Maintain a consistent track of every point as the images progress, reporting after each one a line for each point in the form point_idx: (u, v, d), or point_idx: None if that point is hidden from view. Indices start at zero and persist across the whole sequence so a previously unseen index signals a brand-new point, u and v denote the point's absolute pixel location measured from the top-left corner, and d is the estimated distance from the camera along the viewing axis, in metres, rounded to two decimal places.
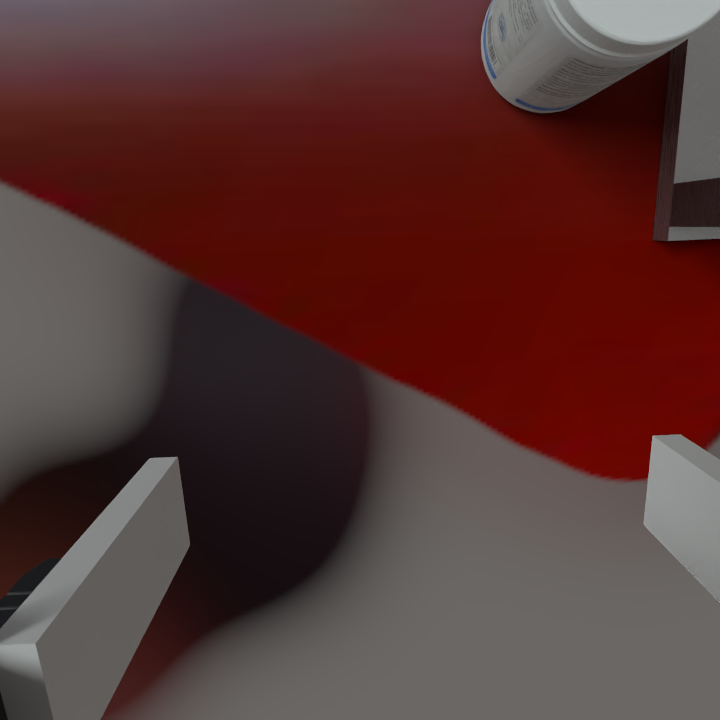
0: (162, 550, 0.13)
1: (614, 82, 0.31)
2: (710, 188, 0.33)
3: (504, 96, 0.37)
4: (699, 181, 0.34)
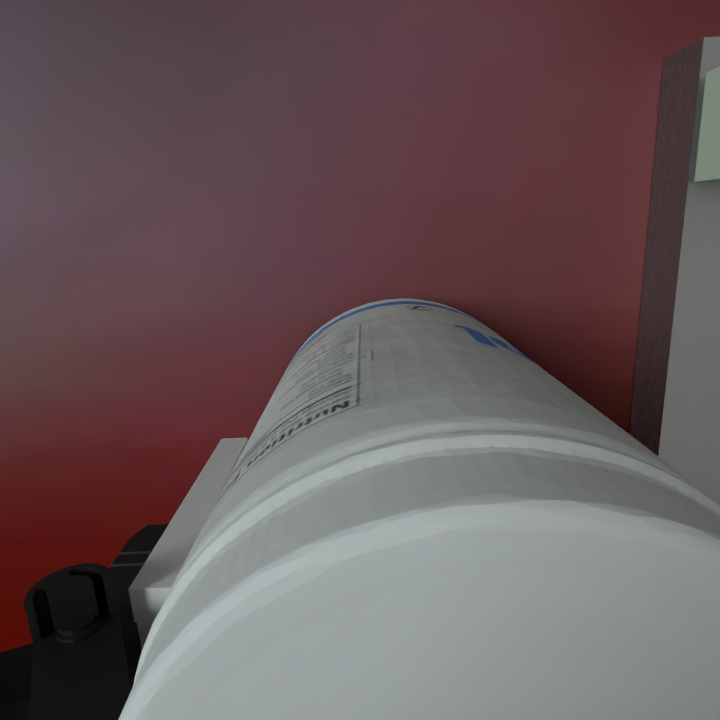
0: None
1: None
2: None
3: None
4: None
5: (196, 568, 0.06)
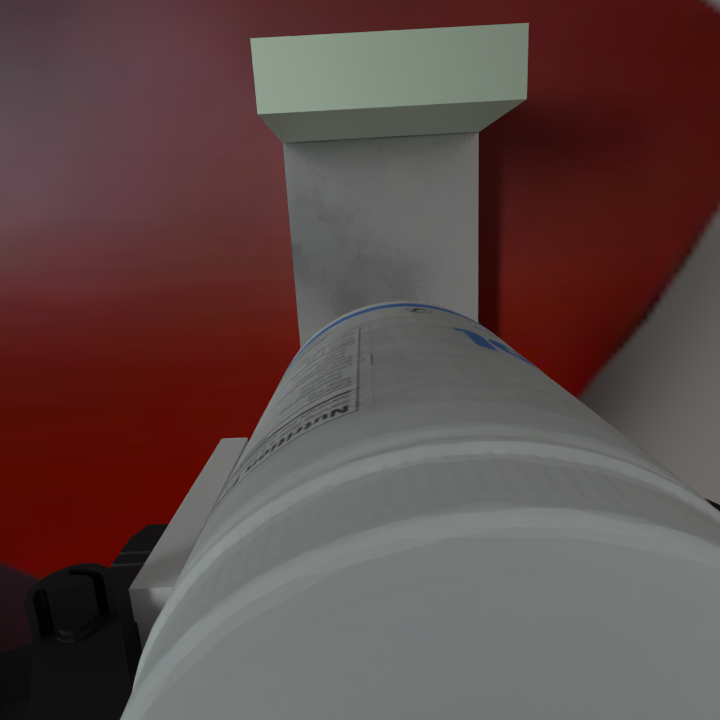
0: None
1: None
2: None
3: None
4: None
5: (195, 574, 0.06)
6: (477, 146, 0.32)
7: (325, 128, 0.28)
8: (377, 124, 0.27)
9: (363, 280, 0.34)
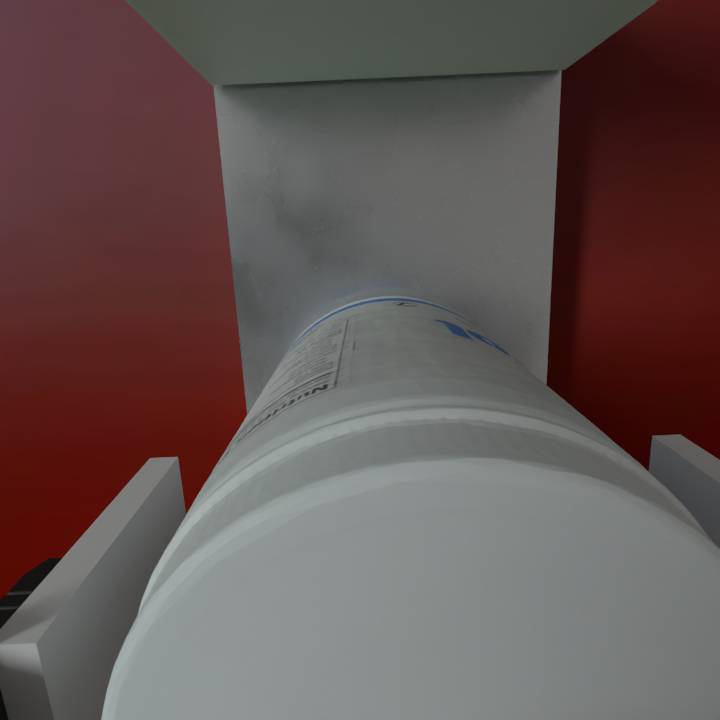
0: (162, 550, 0.13)
1: None
2: None
3: None
4: None
5: (188, 526, 0.07)
6: (558, 98, 0.18)
7: (277, 40, 0.14)
8: (381, 31, 0.13)
9: None
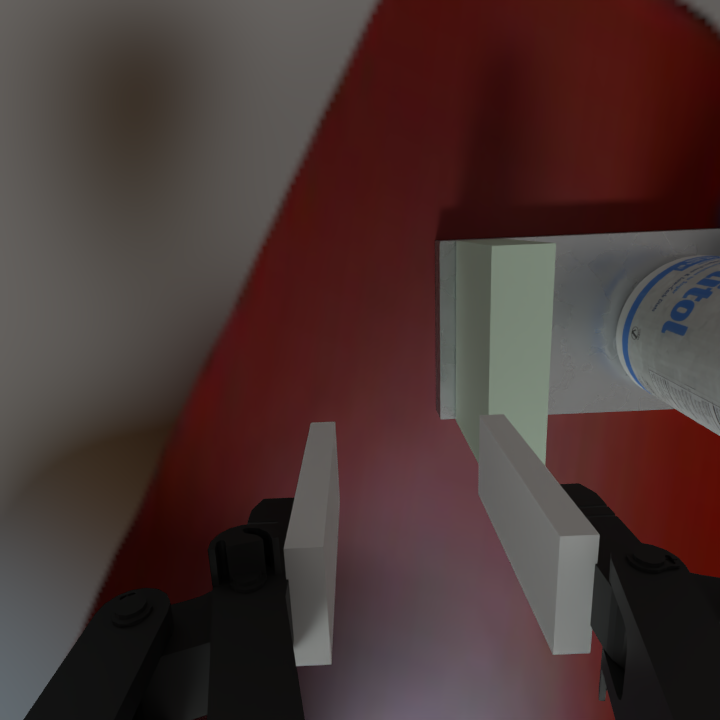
0: (336, 499, 0.15)
1: None
2: None
3: None
4: None
5: None
6: (515, 239, 0.33)
7: None
8: None
9: None
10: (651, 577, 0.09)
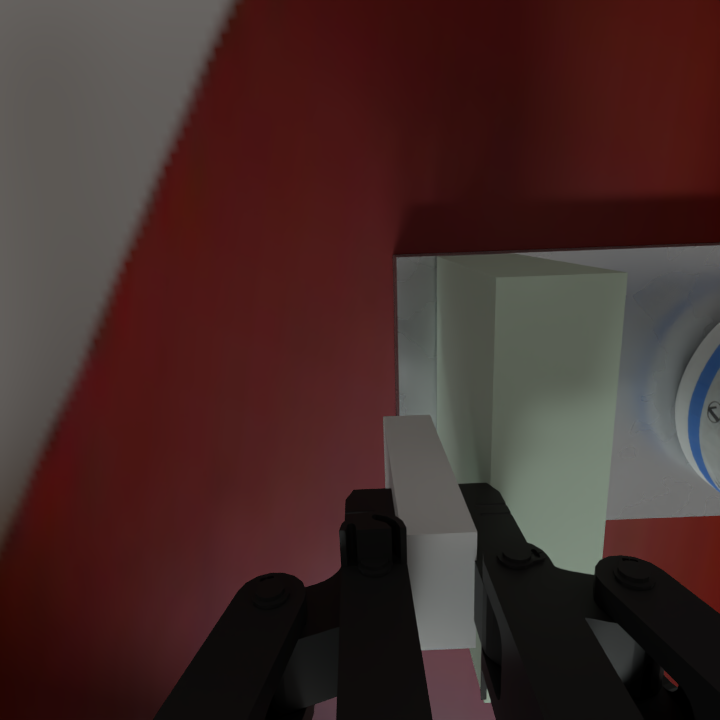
0: None
1: None
2: None
3: None
4: None
5: None
6: None
7: None
8: None
9: None
10: (520, 574, 0.09)
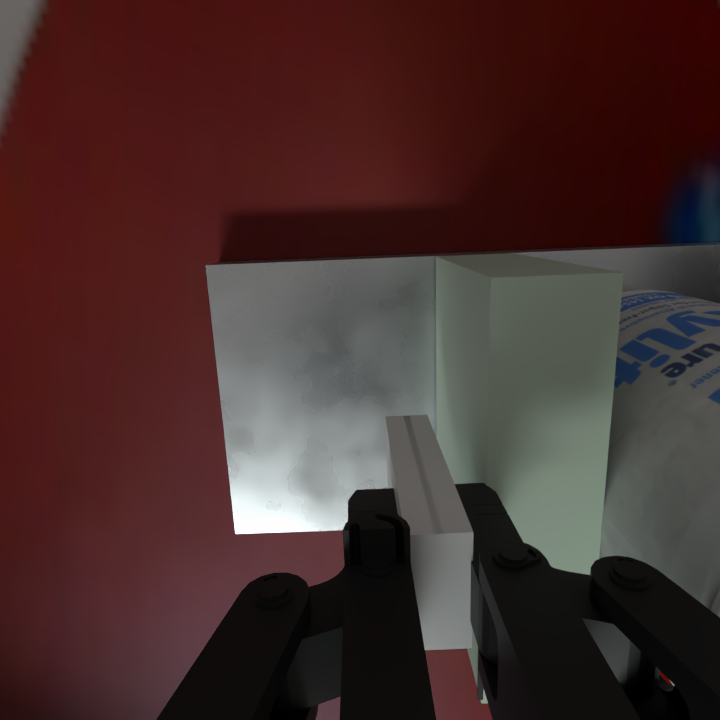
0: None
1: None
2: None
3: None
4: None
5: None
6: (327, 262, 0.21)
7: None
8: None
9: None
10: (516, 574, 0.09)
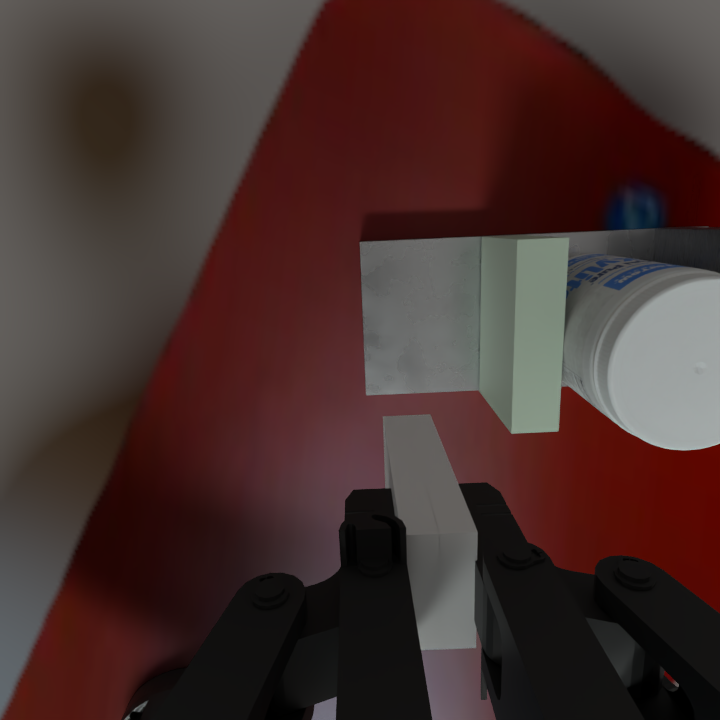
0: None
1: None
2: None
3: None
4: None
5: (618, 423, 0.28)
6: (424, 240, 0.39)
7: None
8: None
9: None
10: (520, 574, 0.09)
